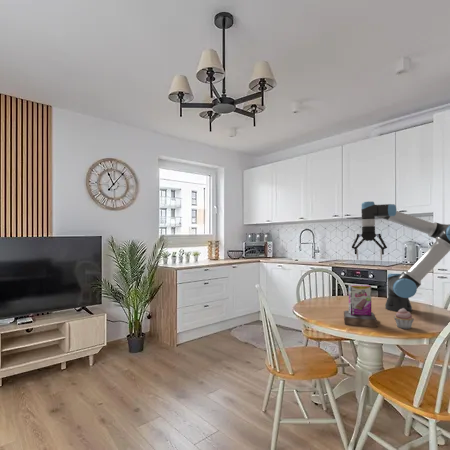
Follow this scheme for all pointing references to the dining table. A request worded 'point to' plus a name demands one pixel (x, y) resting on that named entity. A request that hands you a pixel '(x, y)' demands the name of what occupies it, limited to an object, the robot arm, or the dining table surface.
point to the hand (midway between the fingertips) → (369, 259)
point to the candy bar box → (359, 299)
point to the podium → (360, 320)
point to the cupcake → (403, 319)
